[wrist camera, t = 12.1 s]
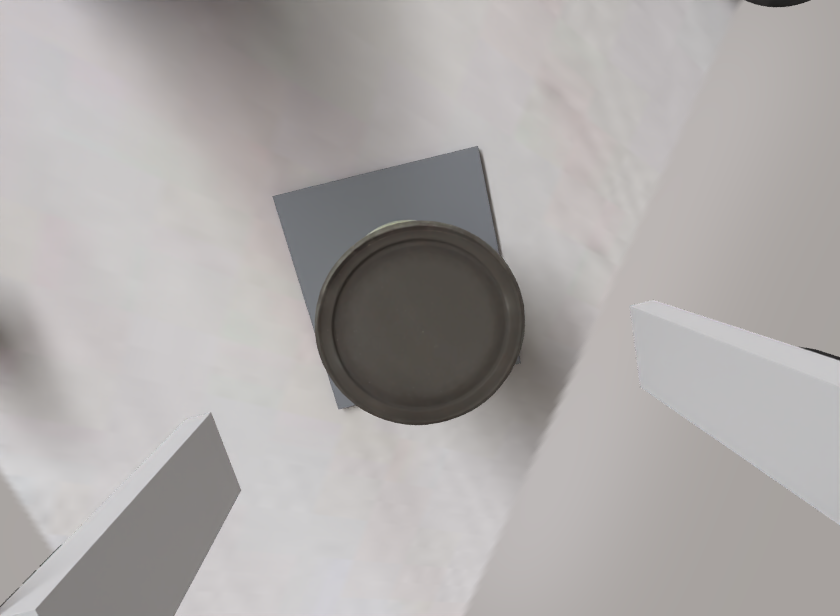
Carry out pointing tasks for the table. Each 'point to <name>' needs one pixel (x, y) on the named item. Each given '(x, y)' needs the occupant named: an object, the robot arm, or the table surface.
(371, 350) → the coffee can
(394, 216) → the placemat
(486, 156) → the table surface
